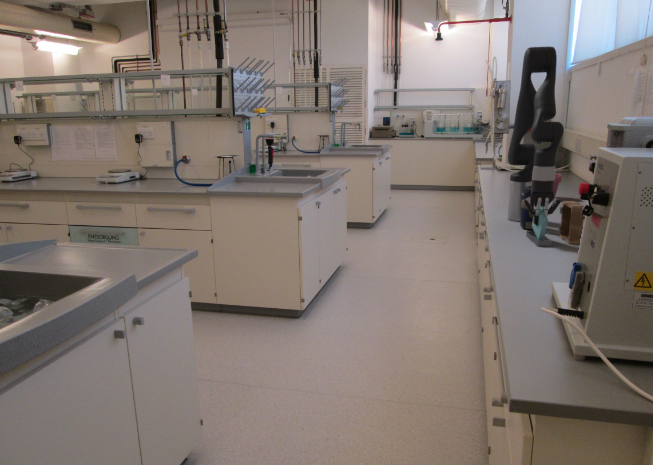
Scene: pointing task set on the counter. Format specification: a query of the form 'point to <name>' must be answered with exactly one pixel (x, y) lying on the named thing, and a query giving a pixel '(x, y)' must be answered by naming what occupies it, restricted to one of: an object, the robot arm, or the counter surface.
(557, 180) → the plant pot
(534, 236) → the grey rectangular frame
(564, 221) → the cabinet
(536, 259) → the counter surface
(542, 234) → the door panel
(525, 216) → the canister
